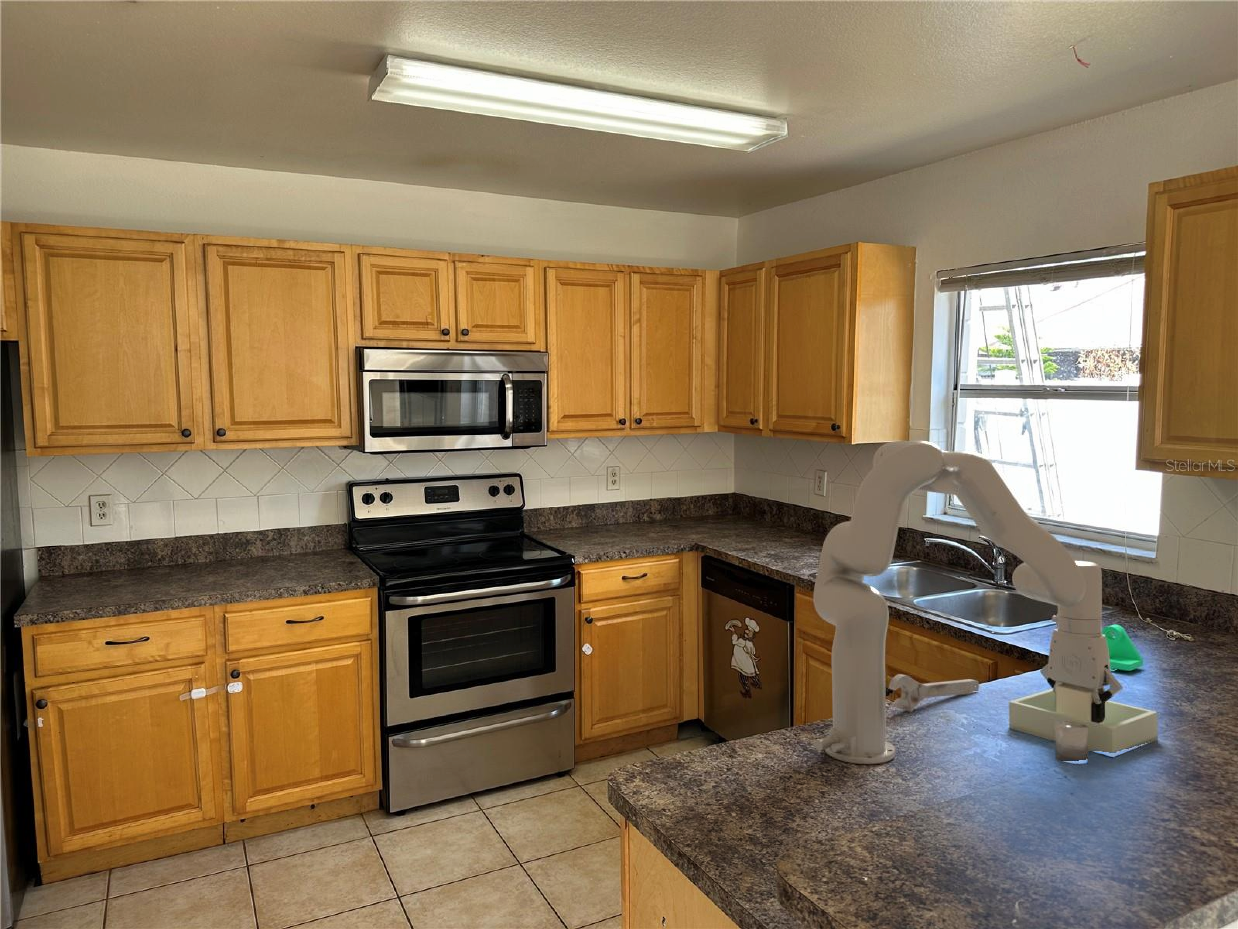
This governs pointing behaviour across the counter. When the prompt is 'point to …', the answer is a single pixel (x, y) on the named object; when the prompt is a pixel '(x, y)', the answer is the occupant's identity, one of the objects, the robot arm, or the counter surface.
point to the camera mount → (1121, 649)
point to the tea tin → (1071, 741)
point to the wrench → (927, 690)
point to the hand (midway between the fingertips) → (1080, 717)
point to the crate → (1086, 722)
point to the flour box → (1074, 701)
